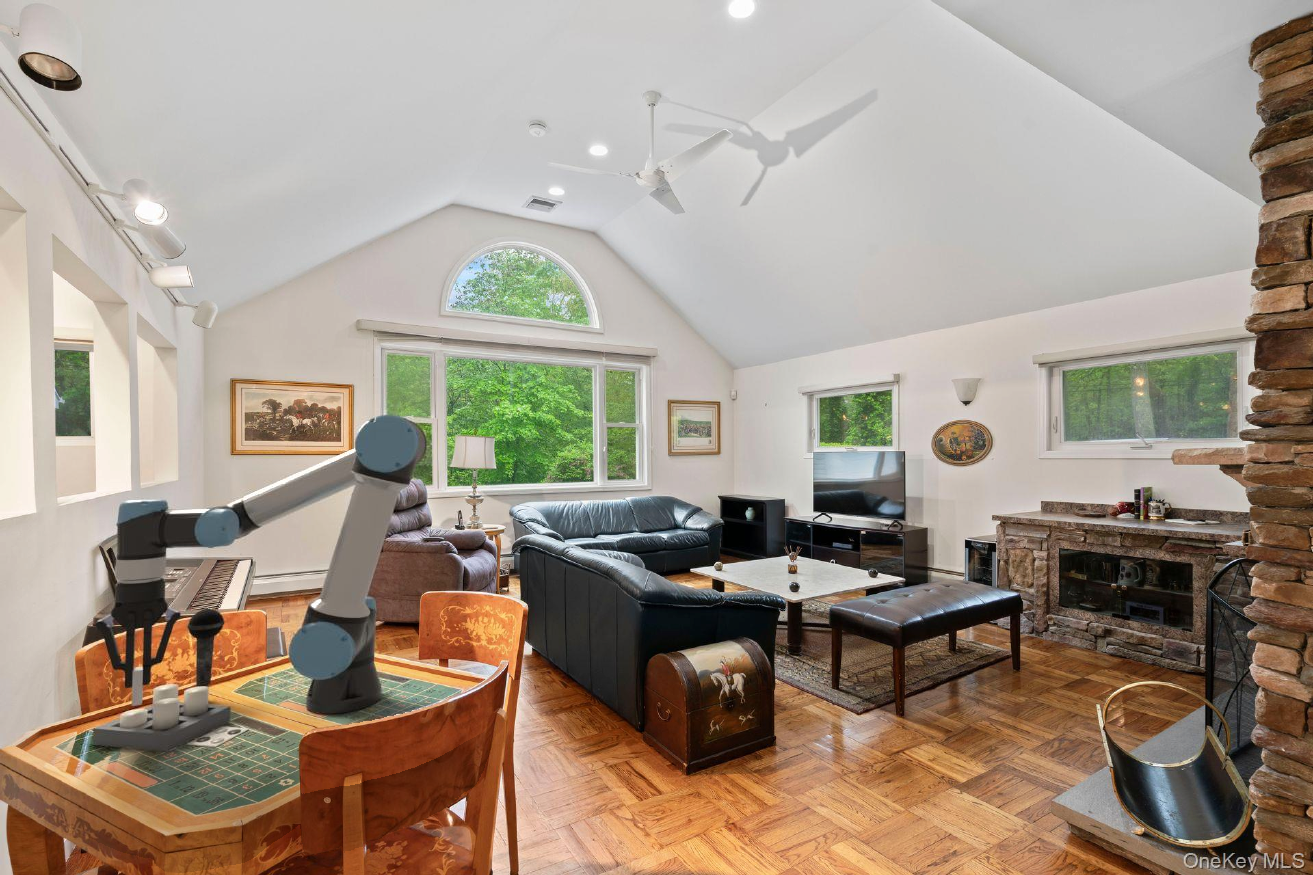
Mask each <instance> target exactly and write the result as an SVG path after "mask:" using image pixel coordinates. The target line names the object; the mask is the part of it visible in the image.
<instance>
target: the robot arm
mask: <svg viewBox="0 0 1313 875" xmlns="http://www.w3.org/2000/svg"><path fill="white" fill-rule="evenodd" d="M427 440H428V439H427V437H426V434H425V432H424V430H423V429H422V428H421V426H420V425H418V424H417V423H416V422H414V421H412V420H410V419H407V418H406V417H403V416H401V415H394V414H383V415H382V414H381V415H378V416H375V417H372V418H370V419H369V420H367V421H365V423H363V425H361V427H360V428H359V430H358V431H357V433H356V436H355V439H354V448H353V449H350V450H348V451H346V452H344V453H341V454H339V455H337V456H334V457H332V458H330V459H327V460H325V461H323V462H321V463H319V464H316V465H314V466H312V467H309V468H307V469H304V470H303V471H301V472H298V473H295V474H293V475H291V476H288V477H287V478H286V477H285V478H283V479H282V480H279V481H277V482H276V483H273V484H270V485H269V486H265V487H264V488H261V489H259V490H257V491H255V492H252V493H250V494H247V495H245V496H244V497H241V498H238V499H236V500H234V501H231V502H230V503H229V502H228V503H226V504H224V505H220V506H213V507H206V508H196V509H195V508H193V509H192V508H191V509H172V508H171V509H170V508H169V503H168V502H167V500H165V499H132V500H129V499H128V500H125V501H123V502H122V503H120V504H119V507H118V513H117V514H118V515H117V522H116V527H117V533H116V534H117V536H116V538H117V539H116V542H117V543H116V552H117V553H116V559H115V580H116V581H118V582H117V583H116V584H115V590H114V606H113V608H112V609H111V612H110V614H109V615H107V616H105V617H103V618H100V619H98V620H97V622H96V623H95V627H96V628H97V629H98V631H99V632H100V633H101V634H102V636H103V639H104V640H103V641H104V643H105V646H106V651H107V653H108V657H109V660H110V664H111V667H112V670H114V671H118V670H119V671H123V672H124V687H125V689H130V688H131V707H135V706H140V705H142V704H143V700H144V697H143V695H144V693H143V692H144V686H149V685H150V684H151V678H152V677H151V675H152V674H151V673H152V667H153V666H155V665H158V664H161V663H163V660H164V657H165V654H166V650H167V648H168V644H169V642H170V638H171V635H172V632H173V629H174V626H175V624H176V623H177V621H179V619H180V618H181V611H180V610H175V609H173V608H170V607H169V605H168V603H167V601H166V599H165V598H166V580H165V578H163V577H164V576H165V575H166V570H167V568H166V567H167V549H174V548H177V549H179V548H208V549H214V548H220V547H228V546H231V545H232V544H233V543H234V542H235V540H238V539H241V538H243V537H246V536H248V535H250V534H251V533H252V532H253V531H256V530H258V529H260V528H262V527H264V526H266V525H269V524H270V523H273V522H275V521H277V520H278V521H279V519H282V518H284V517H286V516H289V515H291V514H293V513H295V512H297V511H300V510H302V509H304V508H307V507H308V506H311V505H314V504H315V503H318V502H320V501H321V500H324V499H326V498H328V497H331V496H333V495H335V494H338V493H339V492H342V491H344V490H347V489H349V488H351V487H353V491H352V494H351V497H350V499H349V503H348V505H347V510H346V512H345V517H344V518H343V522H342V526H341V528H340V531H339V535H338V538H337V541H336V544H335V547H334V551H333V554H332V558H331V561H330V564H329V567H328V569H327V572H326V576H325V579H324V583H323V585H322V589H321V592H320V595H318V596H316V597H315V598H313V599H312V600H309V603H308V605H307V608H306V612H305V615H304V617H303V622H302V624H301V627H300V628H299V629H297V631H296V632H295V633H294V635H293V637H292V639H291V641H290V644H289V646H288V657H289V662H290V664H291V666H292V667H293V668H294V669H295V671H296V672H297V673H299V674H300V675H301V676H303V677H305V678H307V679H310V680H312V681H311V682H310V685H309V689H308V691H307V694H306V699H305V700H306V701H305V707H306V709H307V710H308V711H310V712H311V713H312V712H313V713H317V714H329V715H330V714H332V715H333V714H341V713H342V714H343V713H348V712H353V711H358V710H361V709H365V708H369V707H370V706H372V705H374V704H376V703H377V702H378V700H379V699H380V700H381V698H382V690H383V687H382V683H381V680H380V677H379V674H378V671H377V667H376V665H375V650H376V649H375V648H376V624H377V620H376V619H377V617H376V616H377V610H378V609H377V603H376V602H377V601H376V599H375V598H374V597H372V596H368V595H369V591H370V587H371V584H372V582H373V578H374V574H375V572H376V568H377V564H378V563H379V562H378V561H379V558H380V555H381V552H382V550H383V545H384V542H385V539H386V536H387V533H388V530H389V526H390V522H391V519H392V516H393V513H394V510H395V507H396V503H397V500H398V497H399V494H400V492H401V491H402V490H404V489H405V488H408V487H409V486H410V483H411V480H412V477H413V474H414V470H415V467H416V466H417V465H418V464H420V462H421V461H422V460H423V458H424V456H425V455H426V452H427V448H428V442H427ZM164 614H165V617H164V620H165V621H166V623H165V625H164V629H163V632H162V635H161V639H160V641H159V645H158V648H157V652H156V654H155V656H153V657H152V645H153V643H152V642H153V626H155V625H156V624H157V623H158V621H159V620H160V619H161V618H162V617H163V615H164ZM113 620H115V621H116V622H117V623H118V624H119V625H120V626H121V627H122V628H123V629H125V633H126V634H125V657H124V661H122V658H121V655H120V651H119V648H118V644H117V641H116V638H115V633H114V631H113V628H112V627H113V626H114V621H113ZM137 629H143V633H142V634H143V640H142V641H143V642H142V666H138V667H137V666H136V667H135V648H136V630H137ZM380 697H381V698H380ZM380 700H379V701H380ZM376 701H377V702H376ZM375 702H376V703H375Z"/></svg>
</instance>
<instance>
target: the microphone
mask: <svg viewBox="0 0 1313 875" xmlns="http://www.w3.org/2000/svg"><path fill="white" fill-rule="evenodd" d="M225 622H226V621H225V619H224V616H223V615H222V613H221V612H220V611H218V610H216V609H212V608H206V609H202V610H199V611H197V612H196V613H195V614H193V615H192V616H191V617H190V619H189V621H188V624H187V626H186V628H187V630H188V633H189V635H191V636H192V637H193V638H194V639H196V656H195V657H196V662H195V663H196V665H195V666H196V670H195V671H196V673H195V674H196V675H195V676H196V678H195V680H196V682H195V683H196V686H195V687H200V686H206V687H209V685H211V682H212V669H213V657H214V647H215V646H214V645H215V644H214V643H215V637H216V636H218V634H220V632H221V631H222V629H223V627H224V625H225Z"/></svg>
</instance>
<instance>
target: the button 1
mask: <svg viewBox="0 0 1313 875" xmlns="http://www.w3.org/2000/svg"><path fill="white" fill-rule="evenodd" d="M119 716H120V717H119V718H120V727H123V728H134V727H137V726H139V725H141V724H144V723H146V722H147V709H143V708H135V709H131V710H127V711H125V712H122V713H121V714H120V715H119Z"/></svg>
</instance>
